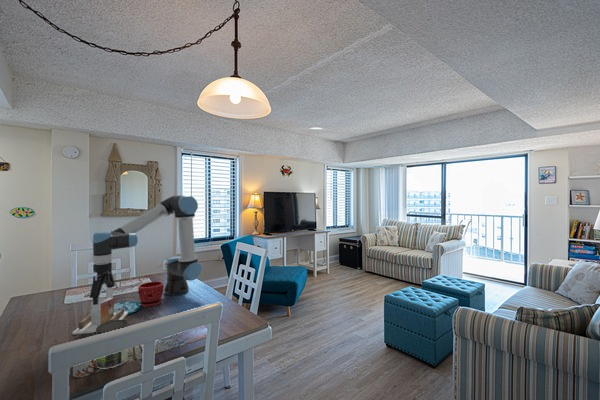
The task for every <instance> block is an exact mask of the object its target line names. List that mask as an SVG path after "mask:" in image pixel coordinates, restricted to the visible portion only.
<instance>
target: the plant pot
mask: <svg viewBox="0 0 600 400" xmlns="http://www.w3.org/2000/svg"><path fill="white" fill-rule="evenodd" d="M137 290H138V298H139V300H140V302H139V305H140V306H141V307H144V308H150V307H156V306H157V305H160V304H161V303H162V302H163V299H162V297H163V294H164V282H162V281H149V282H144V283H141V284H139V285H138V287H137Z"/></svg>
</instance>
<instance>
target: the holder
mask: <svg viewBox="0 0 600 400" xmlns="http://www.w3.org/2000/svg"><path fill="white" fill-rule="evenodd" d="M128 314H129V311H125V308H120V309H119V310H118V311H117V312H114V316H113V317H112V318H111V319H110V320H109V321H113V320H125V319H124V318H126V316H127V315H128ZM109 321H107V322H109ZM105 323H106V322H105ZM98 326H99V324H91V313H89V314H88V315H87V316H85V317H84V318H83V319H82V320H80V321H79V322H78V327H77V328H76V329H75V330H73V331H72V336H73V335H83V334H84V335H85V334H95V333H94V332H96V328H97V327H98Z"/></svg>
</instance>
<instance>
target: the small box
mask: <svg viewBox="0 0 600 400" xmlns="http://www.w3.org/2000/svg"><path fill="white" fill-rule="evenodd" d="M90 310H91V311H90V314H91V324H99V325H101V324H103V323H105V322H107V321H109V320H110V319H111V318H112V317H113V316H114V313H115V298H114V297H113V298H108V297H106V296H105V297H103V298H100V311H93V301H92V302H91V304H90Z"/></svg>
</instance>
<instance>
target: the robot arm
mask: <svg viewBox="0 0 600 400" xmlns="http://www.w3.org/2000/svg"><path fill="white" fill-rule="evenodd" d="M198 209H199V204H198V200H197V199H196V198H195V197H193V196H191V195H187V194H186V195H185V194H183V195H181V194H179V195H172V196H170V197H167V198H165V199H164V200H162V201H160V202H159V203H157V205H156V206H155V207H154V208H152V209H150V210H148V211H146V212H145V213H143V214H141V215H139V216H137V217H135V218H134V219H132V220H131V221H128V222H127V223H125V224H123V225H122V226H119V227H118V228H116V229H114V230H111V231H97V232H95V233H93V235H92V253H93V255H92V259H93V261H92V262H93V265H92V267H93V269H92V270H93V272H94V273H96V275H94V276H93V277H92V286H91V290H90V293H89V294H90V295H89V298H90V299H92V302H93V311H100V299H101V296H100V294H101V291H102V288H103V285H104V284H105V286H106V288H105V297H108V298H114V297H113V296H114V295H113V294H114V293H113V291H114V290H113V288H115V284H116V283H115V279H114V276H113V272H112V269H113V263H112V261H113V255H112V253H113V252H112V251H113V250H118V249H119V250H120V249H126V248H132V247H136V246H137V244H138V235H137V233H139V232H141V231H142V230H144V229H145V228H147V227H149V226H150V225H152V224H153V223H155V222H157V221H159V220H161V219H162V218H164V217H166V218H167V217H168V216H170V215H174V217H175V219H176V220H177V223H178V224H177V225H178V241H179V253H180V256H174V257H170V258H168V259H167V261H166V282H165V286H164V287H163V294H164V295H165V296H178V295H182V294H186V293H187V292H189V289H190V288H189V283H188V281H189V282H190V281H191V282H192V281H194V280H197V279H198V278H199V277H200V275H201V273H202V271H203V268H202V267H203V266H202V264H201V263H199V261H198V259H199V257H198V256H197V255H196V252H195V236H194V221H193V219H194V218H195V216H196V212H197V210H198Z"/></svg>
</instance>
